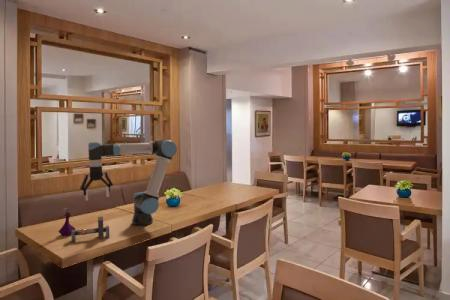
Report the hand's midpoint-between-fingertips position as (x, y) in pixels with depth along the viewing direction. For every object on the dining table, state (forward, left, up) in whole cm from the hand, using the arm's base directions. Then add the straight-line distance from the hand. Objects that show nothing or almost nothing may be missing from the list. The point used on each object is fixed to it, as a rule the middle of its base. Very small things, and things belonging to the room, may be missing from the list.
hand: (97, 198), depth 203 cm
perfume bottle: (+20, -11, -25) cm, 34 cm away
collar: (-1, +4, -25) cm, 25 cm away
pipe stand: (+5, +4, -25) cm, 26 cm away
